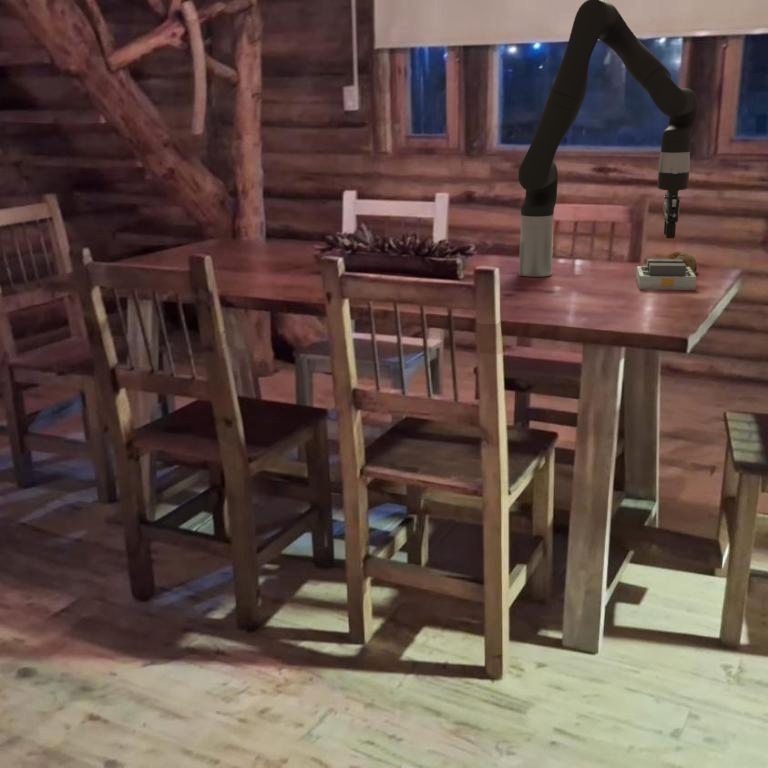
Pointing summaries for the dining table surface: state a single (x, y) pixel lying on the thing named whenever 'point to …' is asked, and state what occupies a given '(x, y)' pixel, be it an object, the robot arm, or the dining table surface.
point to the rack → (665, 278)
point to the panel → (667, 269)
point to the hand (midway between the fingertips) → (669, 236)
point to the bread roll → (684, 259)
